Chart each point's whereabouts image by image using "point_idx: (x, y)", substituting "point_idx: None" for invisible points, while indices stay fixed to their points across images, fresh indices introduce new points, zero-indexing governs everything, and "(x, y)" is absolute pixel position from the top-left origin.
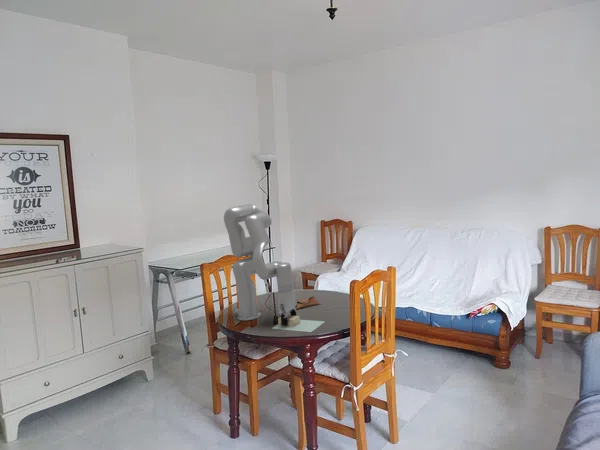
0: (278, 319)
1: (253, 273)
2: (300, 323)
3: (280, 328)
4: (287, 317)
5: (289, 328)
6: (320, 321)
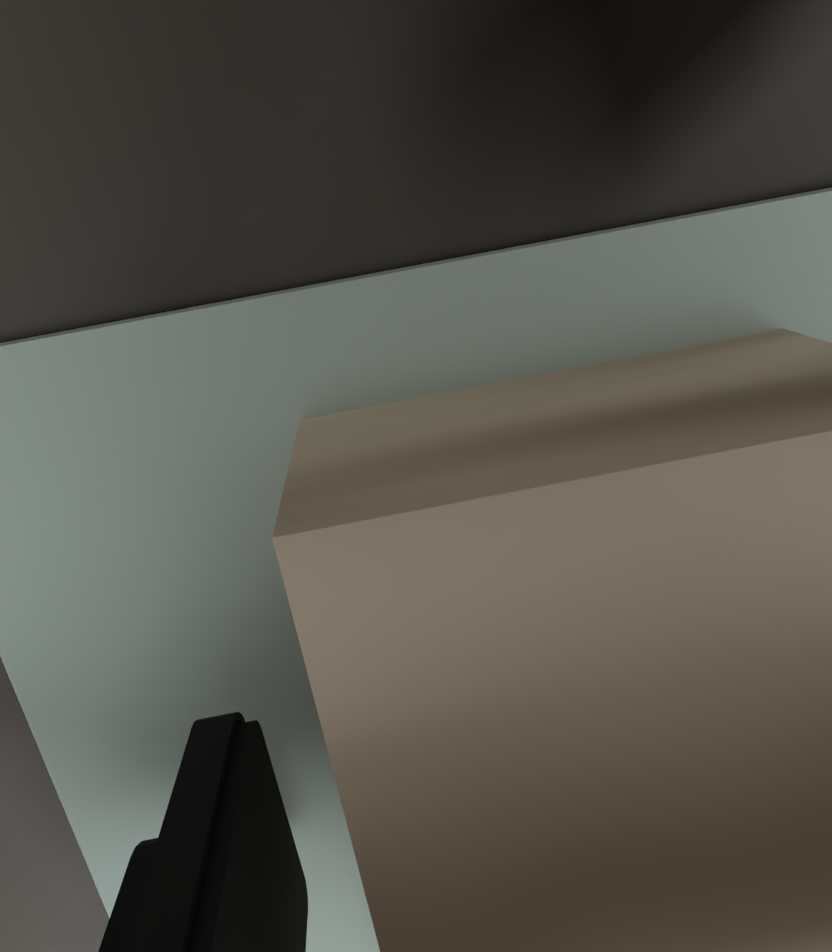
0: (284, 562)
1: None
2: None
3: (104, 687)
4: (654, 846)
5: None
6: None
